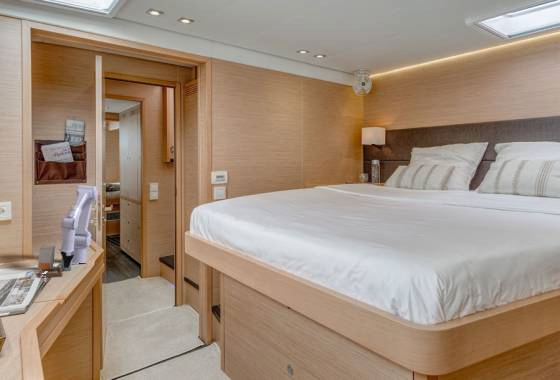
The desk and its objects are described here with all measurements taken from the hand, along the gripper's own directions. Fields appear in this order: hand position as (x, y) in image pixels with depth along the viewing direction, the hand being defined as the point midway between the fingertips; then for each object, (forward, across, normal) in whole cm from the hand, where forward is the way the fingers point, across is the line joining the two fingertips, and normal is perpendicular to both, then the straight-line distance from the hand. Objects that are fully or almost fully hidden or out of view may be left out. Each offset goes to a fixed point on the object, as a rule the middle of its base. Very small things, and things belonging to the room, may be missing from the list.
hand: (66, 266), depth 188 cm
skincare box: (+2, -3, -9) cm, 10 cm away
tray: (+2, +8, -7) cm, 10 cm away
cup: (+2, 0, 0) cm, 2 cm away
